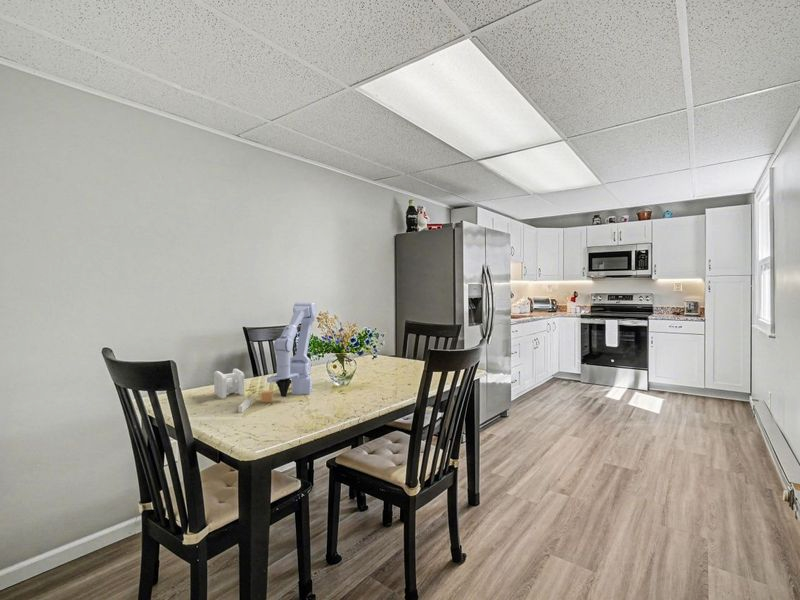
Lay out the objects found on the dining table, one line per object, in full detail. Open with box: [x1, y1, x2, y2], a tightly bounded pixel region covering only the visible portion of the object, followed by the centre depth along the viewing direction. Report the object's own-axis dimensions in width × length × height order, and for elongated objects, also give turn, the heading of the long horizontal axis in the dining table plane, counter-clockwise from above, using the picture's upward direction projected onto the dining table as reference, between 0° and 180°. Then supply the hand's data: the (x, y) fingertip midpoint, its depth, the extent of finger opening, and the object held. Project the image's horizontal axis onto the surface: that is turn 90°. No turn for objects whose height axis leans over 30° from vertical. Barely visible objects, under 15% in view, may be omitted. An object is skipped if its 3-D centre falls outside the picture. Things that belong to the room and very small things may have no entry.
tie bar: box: [237, 397, 254, 413], centre depth 169 cm, size 2×12×2 cm, turn 2°
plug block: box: [260, 390, 274, 403], centre depth 180 cm, size 4×4×4 cm
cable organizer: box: [213, 368, 245, 400], centre depth 191 cm, size 15×11×12 cm
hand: (283, 396), depth 180 cm, fingers closed
